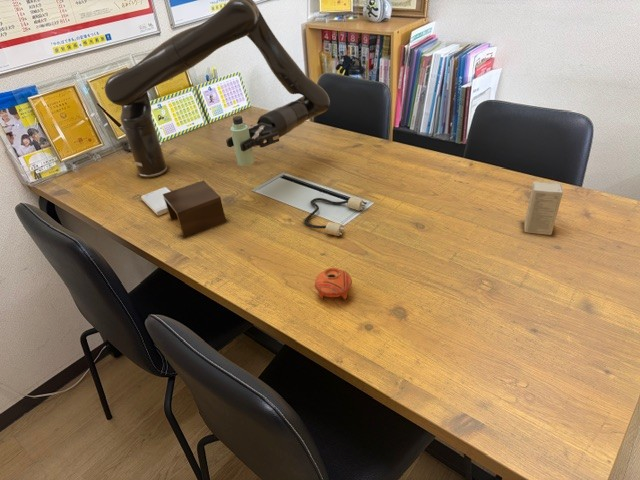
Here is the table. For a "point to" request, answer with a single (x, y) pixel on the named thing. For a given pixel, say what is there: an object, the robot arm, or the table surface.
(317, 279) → the pot
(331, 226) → the cable
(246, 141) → the robot arm
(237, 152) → the bottle
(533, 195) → the cosmetic box
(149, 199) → the hard drive
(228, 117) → the table surface
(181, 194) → the stand
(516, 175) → the table surface
